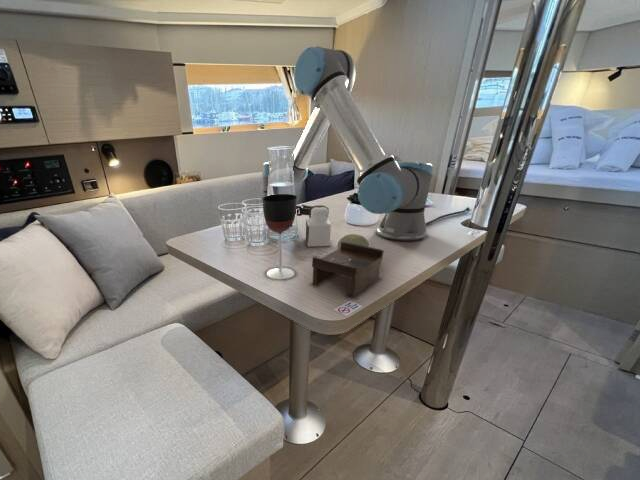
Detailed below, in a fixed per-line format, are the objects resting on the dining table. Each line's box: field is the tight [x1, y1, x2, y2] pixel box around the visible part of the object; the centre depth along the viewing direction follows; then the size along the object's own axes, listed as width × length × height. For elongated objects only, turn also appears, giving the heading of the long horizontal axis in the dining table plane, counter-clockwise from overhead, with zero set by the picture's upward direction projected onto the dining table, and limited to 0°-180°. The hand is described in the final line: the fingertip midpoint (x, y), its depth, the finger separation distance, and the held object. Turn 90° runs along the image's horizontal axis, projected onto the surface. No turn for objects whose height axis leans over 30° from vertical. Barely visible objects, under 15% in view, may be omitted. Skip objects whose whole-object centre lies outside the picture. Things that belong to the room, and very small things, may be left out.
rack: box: [311, 242, 385, 299], centre depth 78 cm, size 14×11×8 cm
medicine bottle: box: [305, 205, 332, 248], centre depth 102 cm, size 7×7×12 cm
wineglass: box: [262, 193, 298, 280], centre depth 81 cm, size 8×9×20 cm
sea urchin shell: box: [337, 233, 370, 249], centre depth 96 cm, size 9×8×8 cm
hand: (309, 220), depth 107 cm, fingers open, 13 cm apart
